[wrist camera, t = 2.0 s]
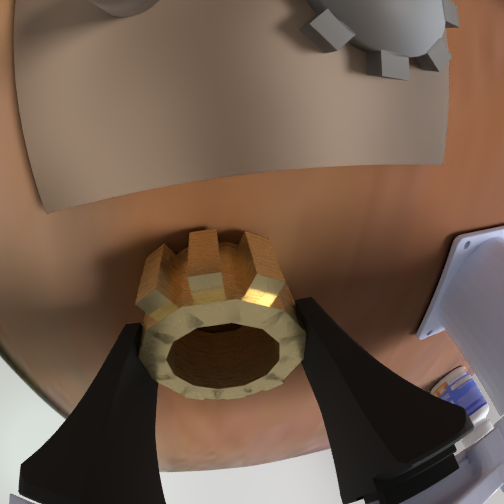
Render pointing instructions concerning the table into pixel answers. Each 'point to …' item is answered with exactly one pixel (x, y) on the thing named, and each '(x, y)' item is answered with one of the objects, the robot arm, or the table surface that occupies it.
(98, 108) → the gear board
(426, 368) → the table surface
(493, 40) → the table surface
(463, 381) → the pill bottle
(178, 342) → the gear
